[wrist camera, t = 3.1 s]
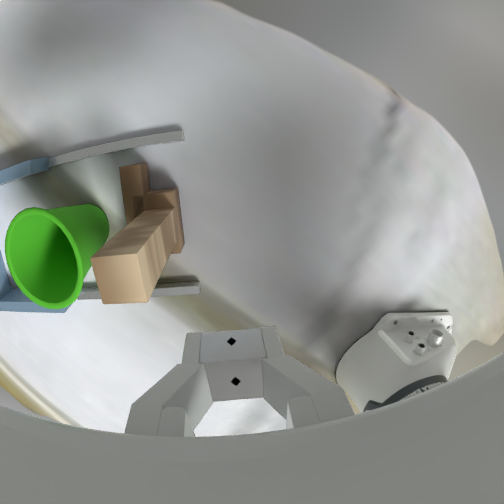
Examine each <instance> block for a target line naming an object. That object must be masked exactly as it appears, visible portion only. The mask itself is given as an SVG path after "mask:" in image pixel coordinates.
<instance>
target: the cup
mask: <svg viewBox="0 0 504 504" xmlns="http://www.w3.org/2000/svg"><path fill="white" fill-rule="evenodd" d="M108 235H109V223H108V219H107V217H106V215H105V214H104V212H103V211H102V210H101V209H100V208H98V207H97V206H95V205H91V204H84V205H76V206H68V207H60V208H53V209H46V210H45V209H42V208H36V207H33V208H27V209H24V210H23V211H21V212H19V213H18V214H17V215H16V216H15V217H14V219H13V220H12V221H11V223H10V226H9V228H8V230H7V234H6V239H5V254H6V260H7V264H8V267H9V270H10V273H11V275H12V277H13V279H14V281H15V283H16V284H17V286H18V287H19V288H20V290H21V291H22V292H23V293H24V294H25V295H26V296H27V297H28V298H29V299H30V300H31V301H33V302H34V303H36V304H38V305H39V306H42V307H45V308H48V309H61V308H65V307H68V306H69V305H71V304H72V303H73V302H75V300H76V299H77V297H78V296H79V295H80V292H81V289H82V286H83V279H84V278H85V276H86V274H87V272H88V270H89V269H90V267H91V265H92V263H91V259H90V257H92V256H93V255H94V254H95V253H96V252H97V251H98V250H99V249H100V248H101V247H103V245H104V244H105V242H106V240H107V238H108Z"/></svg>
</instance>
